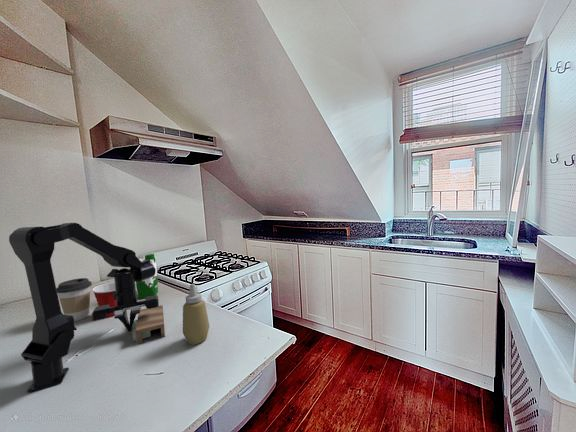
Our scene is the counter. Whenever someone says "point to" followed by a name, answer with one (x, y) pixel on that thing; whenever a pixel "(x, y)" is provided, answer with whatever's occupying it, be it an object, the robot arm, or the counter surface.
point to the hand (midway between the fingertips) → (130, 331)
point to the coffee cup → (75, 297)
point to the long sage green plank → (144, 334)
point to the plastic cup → (105, 296)
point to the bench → (149, 322)
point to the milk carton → (148, 281)
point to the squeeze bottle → (195, 318)
